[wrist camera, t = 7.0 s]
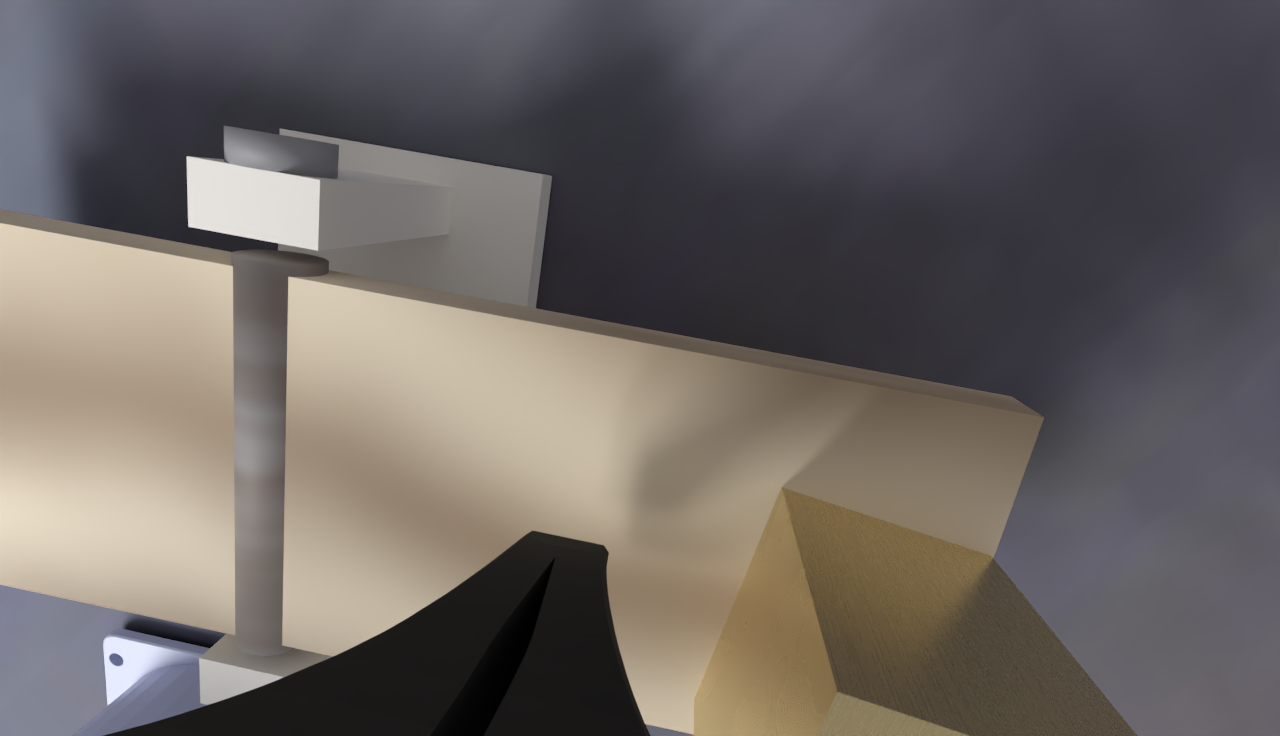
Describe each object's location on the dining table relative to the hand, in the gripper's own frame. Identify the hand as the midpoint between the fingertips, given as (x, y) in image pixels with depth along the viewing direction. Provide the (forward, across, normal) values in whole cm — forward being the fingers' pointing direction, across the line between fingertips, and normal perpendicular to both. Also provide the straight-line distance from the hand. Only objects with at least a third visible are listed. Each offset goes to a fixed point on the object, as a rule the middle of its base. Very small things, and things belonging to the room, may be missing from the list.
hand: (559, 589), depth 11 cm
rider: (-1, -3, +1) cm, 3 cm away
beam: (+5, +7, 0) cm, 8 cm away
